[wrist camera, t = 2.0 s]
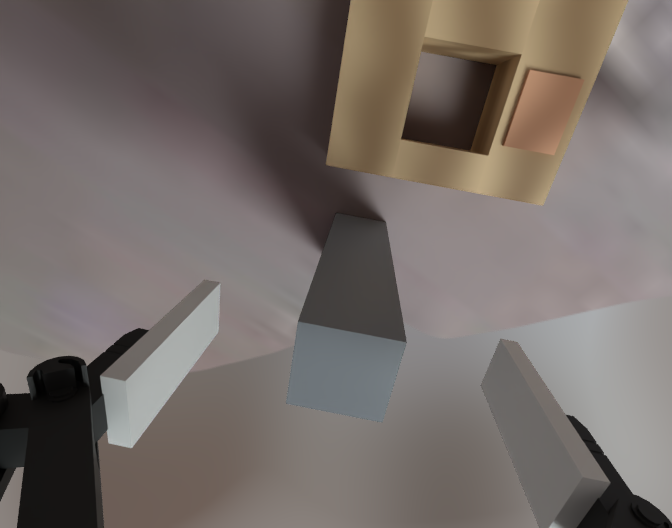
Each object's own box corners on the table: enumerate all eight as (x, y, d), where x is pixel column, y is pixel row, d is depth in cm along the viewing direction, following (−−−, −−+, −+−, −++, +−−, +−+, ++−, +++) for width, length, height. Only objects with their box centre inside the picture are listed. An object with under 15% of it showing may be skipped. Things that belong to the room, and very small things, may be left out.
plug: (328, 258, 29) (286, 403, 14) (336, 212, 27) (297, 321, 12) (375, 267, 29) (382, 422, 14) (385, 222, 27) (406, 342, 12)
